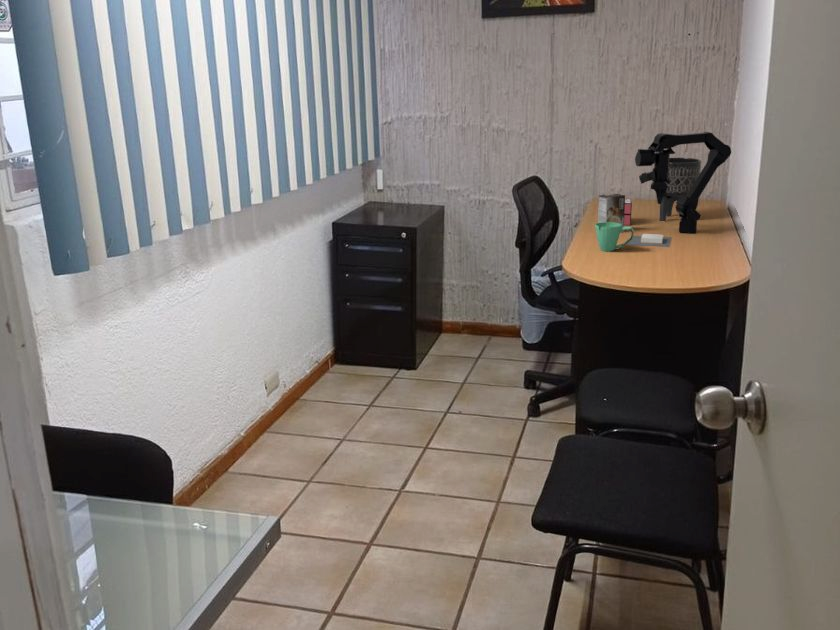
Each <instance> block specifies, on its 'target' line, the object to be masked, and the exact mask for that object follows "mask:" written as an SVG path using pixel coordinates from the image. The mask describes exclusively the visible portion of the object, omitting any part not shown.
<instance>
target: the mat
mask: <svg viewBox="0 0 840 630" xmlns="http://www.w3.org/2000/svg"><path fill="white" fill-rule="evenodd" d="M641 237H642V235H633V239H632V240H631V241H630V242H629V243H628V244H626V246H638V247H639V246H641V247H659V248H660V247H661V248H670V245H671V241H672V238H673V237H671V236H663V242H662V244H654V243H641Z"/></svg>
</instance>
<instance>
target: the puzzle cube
mask: <svg viewBox="0 0 840 630" xmlns="http://www.w3.org/2000/svg"><path fill="white" fill-rule="evenodd" d="M632 203H633V202H632V199H629V198H627V199H626V198H625V213H624V226H631V225H632V209H633V208H632V207H633V206H632V205H633V204H632Z"/></svg>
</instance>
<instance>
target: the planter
mask: <svg viewBox="0 0 840 630" xmlns="http://www.w3.org/2000/svg"><path fill="white" fill-rule="evenodd" d="M702 162H703V161H702V159H698V158H692V157H669V172H668V177H669V178H670V182H669V184H668V188H667V191H666V193H665V195H664V197H663V199H662V202H661V204H659V222H660V221H665V222H666V220H667V217H672V213H673V207H674V204H675V203H676V202H677V201H678V200H679V198H680V196H681V194H682V195H686V194H687V193H688V192H689V191H690V189H691V187H692V186H693V184H694V183H695V181H696V179H697V178H698V176H699V174H700V173H701V171H702V170H701V168H702ZM654 193H656V191H655V190H654Z"/></svg>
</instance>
